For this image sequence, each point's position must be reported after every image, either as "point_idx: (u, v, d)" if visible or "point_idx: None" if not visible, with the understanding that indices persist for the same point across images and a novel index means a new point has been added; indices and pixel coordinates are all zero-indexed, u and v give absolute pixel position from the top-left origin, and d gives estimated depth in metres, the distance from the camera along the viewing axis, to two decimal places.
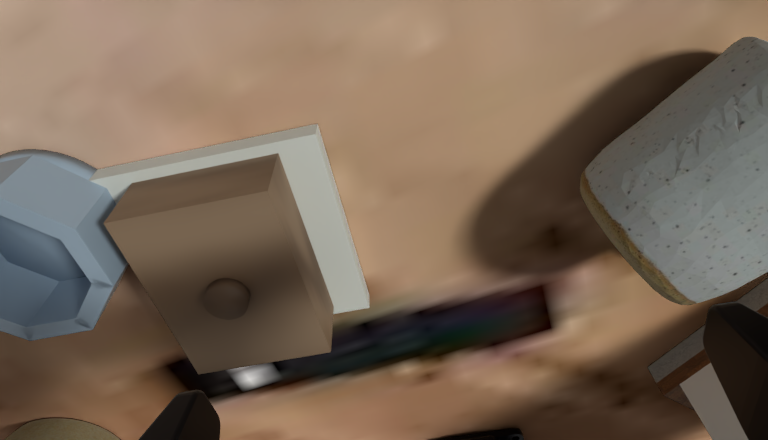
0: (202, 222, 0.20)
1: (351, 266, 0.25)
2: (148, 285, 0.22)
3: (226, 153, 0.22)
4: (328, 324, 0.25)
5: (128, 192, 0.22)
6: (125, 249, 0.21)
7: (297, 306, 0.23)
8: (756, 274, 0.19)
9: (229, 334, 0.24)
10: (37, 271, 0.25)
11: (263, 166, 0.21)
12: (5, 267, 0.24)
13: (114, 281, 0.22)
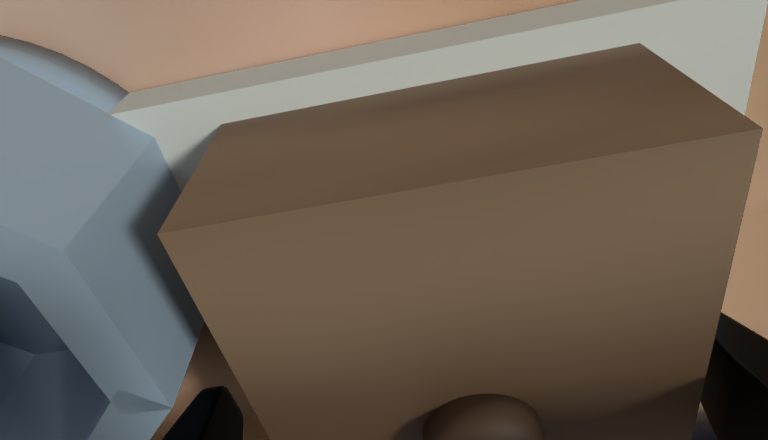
0: (485, 237, 0.06)
1: None
2: (269, 408, 0.08)
3: (496, 40, 0.08)
4: None
5: (218, 145, 0.08)
6: (217, 315, 0.07)
7: None
8: None
9: None
10: None
11: (631, 70, 0.07)
12: None
13: (173, 393, 0.08)
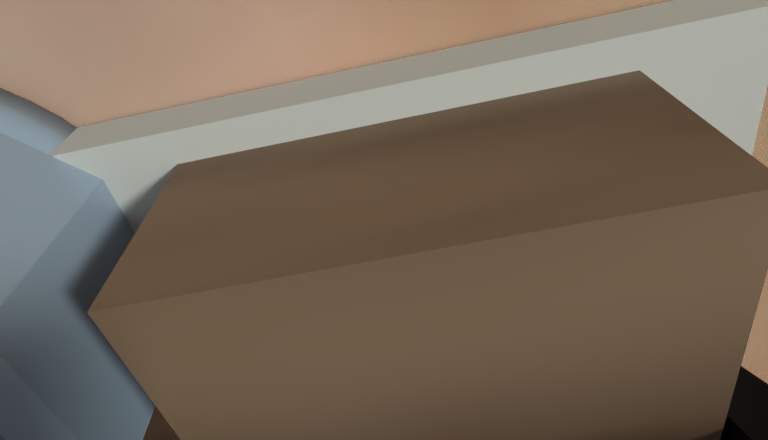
0: (469, 307, 0.05)
1: None
2: None
3: (480, 69, 0.07)
4: None
5: (171, 192, 0.07)
6: (166, 395, 0.06)
7: None
8: None
9: None
10: None
11: (632, 105, 0.06)
12: None
13: None
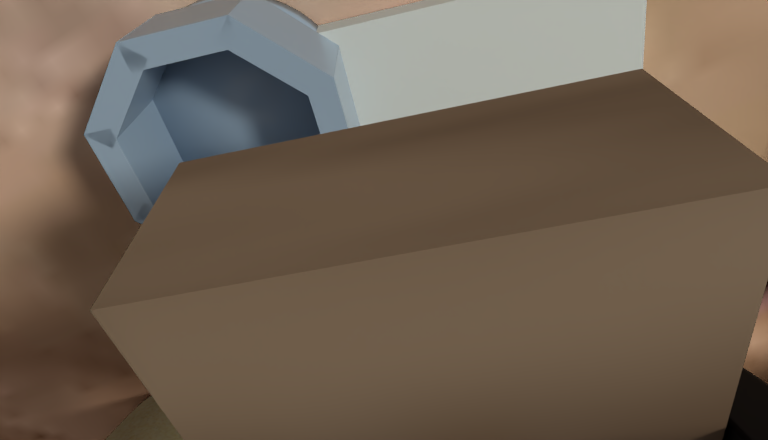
0: (472, 305, 0.05)
1: None
2: None
3: None
4: None
5: (173, 191, 0.07)
6: (168, 393, 0.06)
7: None
8: None
9: None
10: None
11: (634, 103, 0.06)
12: None
13: None
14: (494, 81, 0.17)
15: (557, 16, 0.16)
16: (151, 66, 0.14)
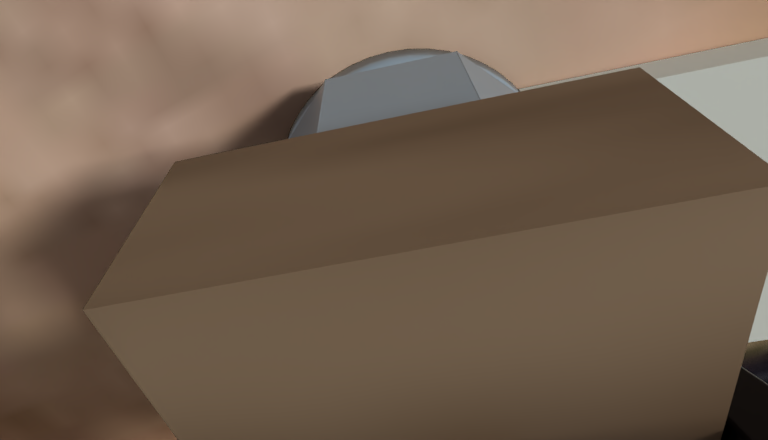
0: (468, 306, 0.05)
1: None
2: None
3: None
4: None
5: (168, 190, 0.07)
6: (163, 394, 0.06)
7: None
8: None
9: None
10: None
11: (632, 101, 0.06)
12: None
13: None
14: None
15: None
16: None
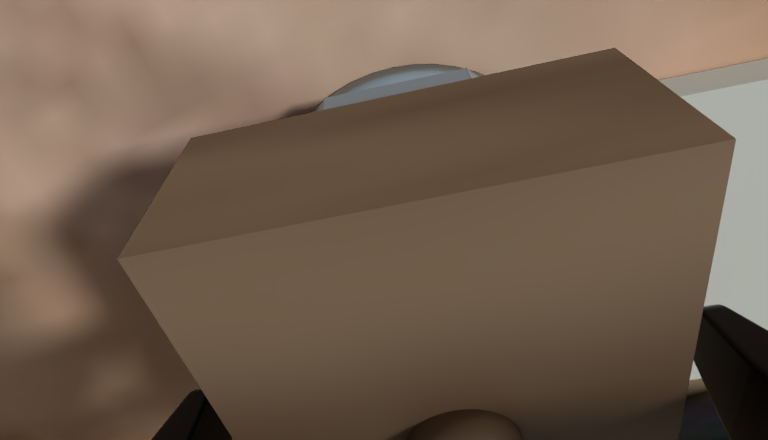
0: (456, 254, 0.06)
1: None
2: (244, 429, 0.08)
3: None
4: None
5: (186, 161, 0.07)
6: (185, 339, 0.06)
7: None
8: None
9: None
10: None
11: (605, 77, 0.07)
12: None
13: None
14: (764, 183, 0.13)
15: None
16: None
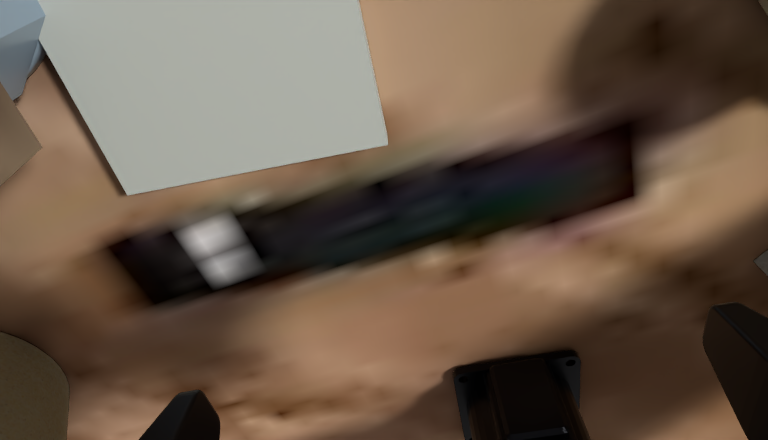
0: None
1: (363, 68, 0.17)
2: None
3: None
4: None
5: None
6: None
7: None
8: None
9: None
10: None
11: None
12: None
13: None
14: None
15: None
16: None
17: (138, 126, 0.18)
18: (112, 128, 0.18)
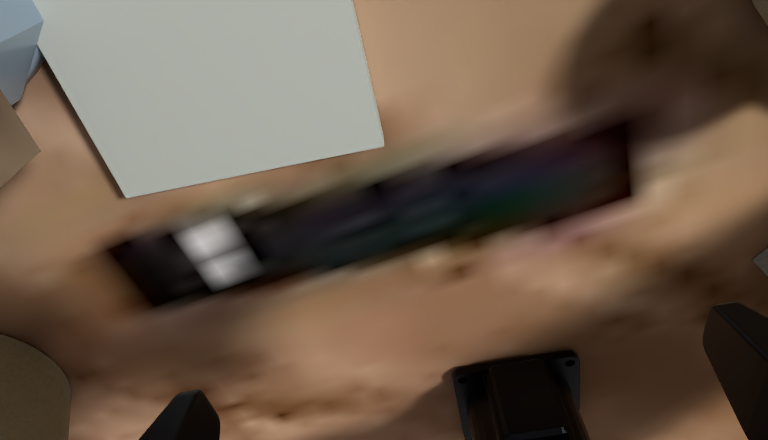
0: None
1: (359, 71, 0.17)
2: None
3: None
4: None
5: None
6: None
7: None
8: None
9: None
10: None
11: None
12: None
13: None
14: None
15: None
16: None
17: (136, 129, 0.18)
18: (110, 132, 0.18)
